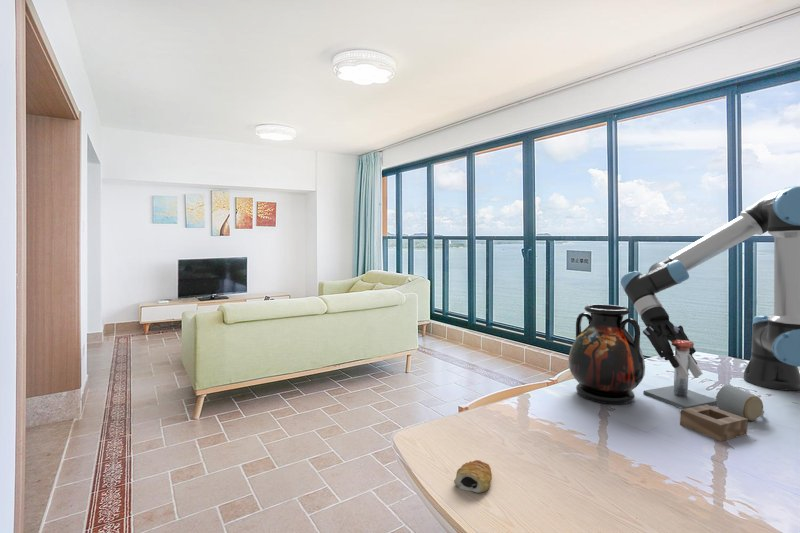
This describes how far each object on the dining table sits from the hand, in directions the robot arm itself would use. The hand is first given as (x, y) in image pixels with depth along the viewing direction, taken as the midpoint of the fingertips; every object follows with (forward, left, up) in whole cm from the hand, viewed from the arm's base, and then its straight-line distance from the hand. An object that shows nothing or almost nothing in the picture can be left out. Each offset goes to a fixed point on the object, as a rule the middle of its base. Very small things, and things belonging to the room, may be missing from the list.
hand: (692, 376), depth 126 cm
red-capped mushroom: (-1, -4, -7) cm, 8 cm away
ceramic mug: (-5, +11, -8) cm, 15 cm away
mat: (-1, -4, -8) cm, 9 cm away
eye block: (+12, +14, -8) cm, 21 cm away
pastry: (+82, +13, -9) cm, 84 cm away
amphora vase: (+19, -14, -8) cm, 25 cm away
